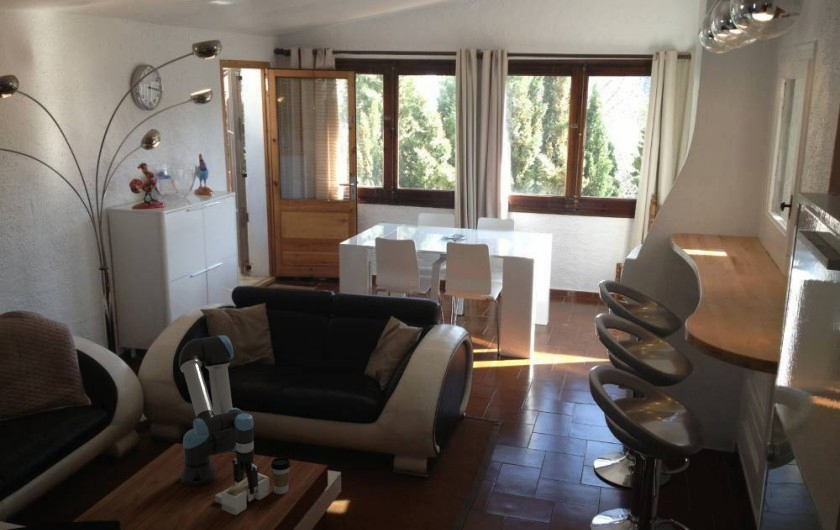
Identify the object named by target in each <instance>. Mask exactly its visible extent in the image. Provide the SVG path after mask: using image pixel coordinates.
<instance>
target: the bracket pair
mask: <svg viewBox="0 0 840 530" xmlns="http://www.w3.org/2000/svg"><path fill="white" fill-rule="evenodd" d="M258 475H261V476H262V480H261V481H260V482H258V489H257V490H256V491H254V494H253V499H256V500H258V501H259V500H262V499H264V498H265V497H267V496H269V495H270V493H271V492H270V491H271V490H270V488H271V487H270V484H271V483H270V476H266V475H264V474H262V473H259V472H258ZM231 487H232V486H230V487H229V488H231ZM229 488H227V489H225V490H224V491H221V497H222V504H221V510H223V511H225V512H227V513H229V514H232V515H234V516H237V515H239V514H240V513H242V512H243V511H244V510H245V511H246V509H247V508H248V507H247V496H246V491H243V492H242V493H240V494H238V495H237V496H233V495H230V494H229V490H228V489H229Z"/></svg>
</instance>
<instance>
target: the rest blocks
mask: <svg viewBox="0 0 840 530" xmlns="http://www.w3.org/2000/svg"><path fill="white" fill-rule="evenodd" d="M236 484H237V482H235V483H234V485H236ZM221 493H222V491H221V492H219V493H217V494H215V495H214V496H215V497H214V499H215V502H216V503H218V504H220V505H222V497H221Z"/></svg>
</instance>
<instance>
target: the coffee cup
mask: <svg viewBox="0 0 840 530" xmlns="http://www.w3.org/2000/svg"><path fill="white" fill-rule="evenodd" d="M270 467H271V472H272V474H271V475H272V482H273V490H274V493H275V494H277V495H284V494H287V493H288V492H289V481H290V467H291V461H290V458H289V457H285V456H283V457H282V456H281V457H276V458H275V457H274V458H273V459H272V461H271V465H270Z"/></svg>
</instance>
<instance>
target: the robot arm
mask: <svg viewBox="0 0 840 530" xmlns="http://www.w3.org/2000/svg"><path fill="white" fill-rule="evenodd" d="M234 355H235V354H234V348H233V344H232V342H231V340H230V338H229V337H228V336H227V335H215V336H209V337H208V336H207V337H202V338H201V337H200V338H194V339H191V340H189V341H188V342H187V343H186V344H185V345H184V346H183V347H182V349H181V351H180V352H179V358H178V366H179V370H180V371H181V372H182V373H183V375H184V378H185V382H186V385H187V389H188V393H189V396H190V400H191V403H192V406H193V410H194V413H195V417H196V418H195V419H193V420H192V421H193V422H192V427H193V428H192V429H190V430H188V431H187V432H186V433H184V435H183V437H182V439H183V440H182V447H183V448H182V449H183V462H184V463H183V468H182V471H181V474H180V482H181V484H183V485H184V486H186V487H193V488H194V487H196V488H197V487H198V488H199V487H203V486H205V485H209V484H210V483H212V482H213V481H214V480H215V479H216V471H215V469H214V466H213V464H212V461H211V457H213V456H218V455H221V454H225V453H232V452H234V451H235V458H234V459H232V460H231V462H232V467H233V470H232V471H233V472H232V473H233V481H234V482H236V483H239V482H241V481H242V480H244V475H246V478H247V480H248V485H249V487H248V488H247V490H248V496H247V502H251V501H252V500H254V498H253V494H254V488H255V487H256V486H258V473H259V472H258V471H259V465H255V464H254V457H255V449H254V448H255V445H254V443H255V442H254V424H255V423H254V417H253V415H251V414H250V413H245V412H244V411H242V410H241V409H240V408H238V407H233V403H232V402H233V401H232V392H231V385H230V378H229V370H228V369H229V368H228V367H229V365H230V364H231V360H232V359H233V358H234ZM203 364H204V368H206V369H207V370H208V374H209V384H210V391H211V398H210V395H209V392H208V387H207V384H206V382H205V378H204V374H203V371H202V368H201V367H202V366H203ZM211 399H212V401H211Z"/></svg>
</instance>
